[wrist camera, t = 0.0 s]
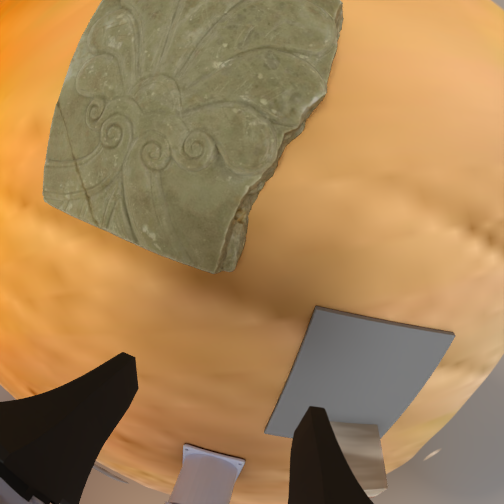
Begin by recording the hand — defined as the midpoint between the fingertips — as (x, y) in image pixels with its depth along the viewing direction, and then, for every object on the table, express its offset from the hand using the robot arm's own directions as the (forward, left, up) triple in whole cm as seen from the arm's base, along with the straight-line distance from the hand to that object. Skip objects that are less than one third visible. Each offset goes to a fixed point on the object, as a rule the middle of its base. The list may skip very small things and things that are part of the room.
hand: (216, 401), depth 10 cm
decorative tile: (+12, +8, -11) cm, 18 cm away
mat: (-8, -11, -10) cm, 17 cm away
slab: (-13, -12, -10) cm, 20 cm away
